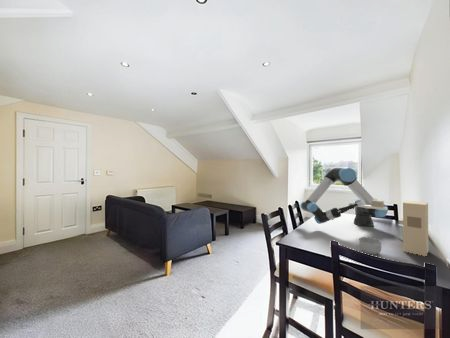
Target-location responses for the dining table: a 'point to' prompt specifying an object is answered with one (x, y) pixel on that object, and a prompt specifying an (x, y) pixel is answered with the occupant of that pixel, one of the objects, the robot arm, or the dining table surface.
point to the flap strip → (374, 205)
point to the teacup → (370, 245)
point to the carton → (415, 227)
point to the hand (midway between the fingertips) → (363, 202)
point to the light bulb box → (400, 231)
